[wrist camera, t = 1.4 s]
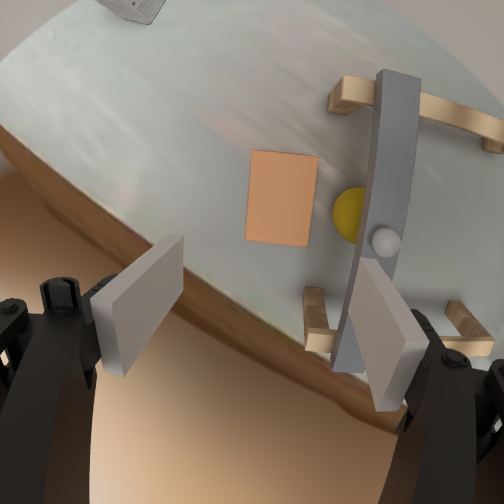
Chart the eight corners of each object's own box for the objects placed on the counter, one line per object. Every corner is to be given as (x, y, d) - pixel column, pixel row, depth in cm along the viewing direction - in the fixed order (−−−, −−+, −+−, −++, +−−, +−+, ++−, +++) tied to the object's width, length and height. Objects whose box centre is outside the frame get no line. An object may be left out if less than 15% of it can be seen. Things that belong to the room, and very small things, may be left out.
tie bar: (411, 83, 20) (427, 75, 17) (359, 360, 28) (365, 381, 25) (376, 74, 20) (388, 65, 17) (330, 358, 28) (333, 380, 25)
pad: (318, 157, 32) (318, 157, 32) (307, 246, 36) (307, 247, 35) (252, 149, 33) (252, 149, 32) (245, 238, 36) (244, 239, 36)
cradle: (494, 137, 28) (545, 141, 19) (456, 314, 36) (488, 355, 27) (328, 94, 30) (344, 74, 20) (302, 301, 38) (305, 350, 28)
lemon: (327, 183, 33) (338, 193, 26) (376, 183, 32) (400, 193, 25) (328, 232, 35) (338, 256, 27) (375, 231, 34) (397, 254, 27)
